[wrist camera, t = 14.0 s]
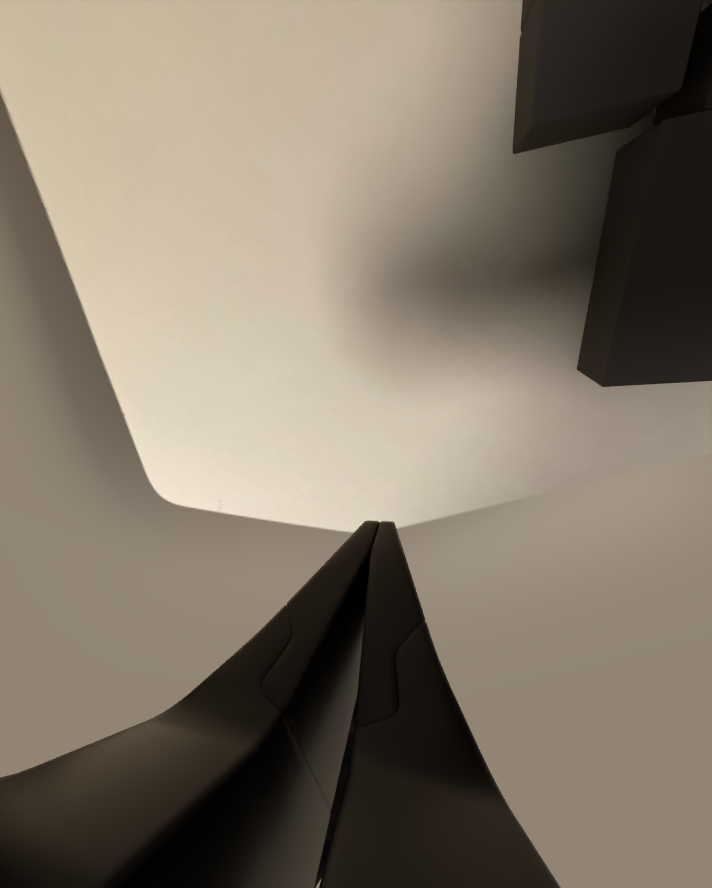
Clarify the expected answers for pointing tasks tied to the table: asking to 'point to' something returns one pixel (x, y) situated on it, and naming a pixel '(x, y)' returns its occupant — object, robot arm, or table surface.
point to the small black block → (658, 245)
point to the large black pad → (597, 65)
